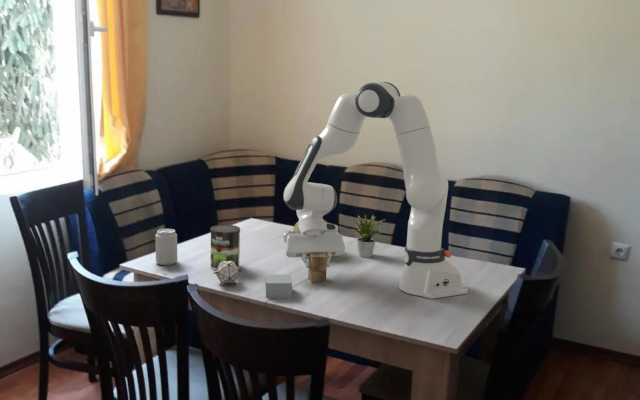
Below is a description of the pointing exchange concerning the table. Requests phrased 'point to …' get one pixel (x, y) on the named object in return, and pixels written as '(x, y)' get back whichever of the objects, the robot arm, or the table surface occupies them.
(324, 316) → the table surface
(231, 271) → the game die
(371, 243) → the house plant
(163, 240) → the can
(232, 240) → the coffee can
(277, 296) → the base block
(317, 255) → the walnut block
